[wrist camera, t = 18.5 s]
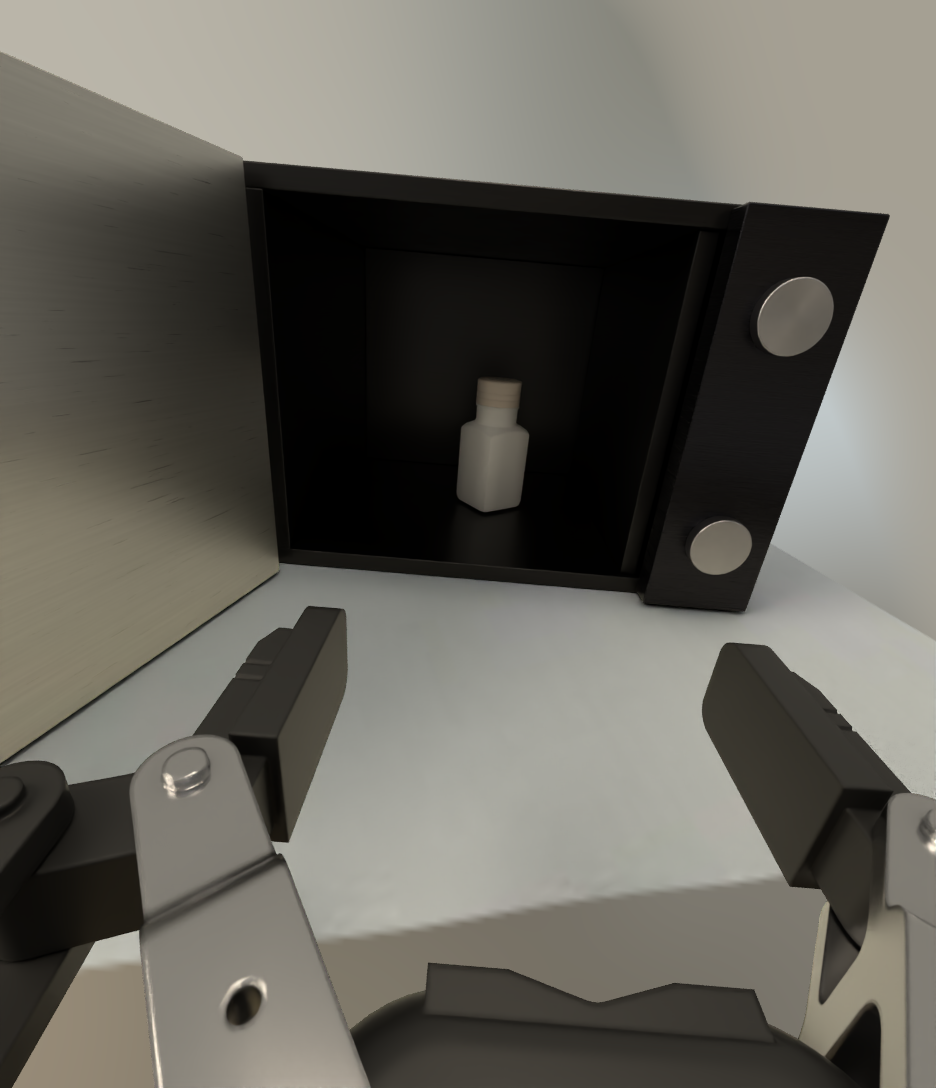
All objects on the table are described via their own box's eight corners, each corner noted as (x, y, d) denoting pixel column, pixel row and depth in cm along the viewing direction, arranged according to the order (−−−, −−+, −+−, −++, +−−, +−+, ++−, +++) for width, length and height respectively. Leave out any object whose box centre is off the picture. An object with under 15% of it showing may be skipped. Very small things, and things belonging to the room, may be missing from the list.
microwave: (751, 623, 28) (908, 204, 20) (258, 581, 28) (210, 142, 20) (634, 487, 51) (686, 262, 42) (358, 464, 50) (355, 233, 42)
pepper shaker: (482, 516, 37) (495, 384, 33) (452, 499, 40) (461, 375, 36) (522, 508, 40) (539, 383, 36) (491, 492, 42) (503, 375, 38)
